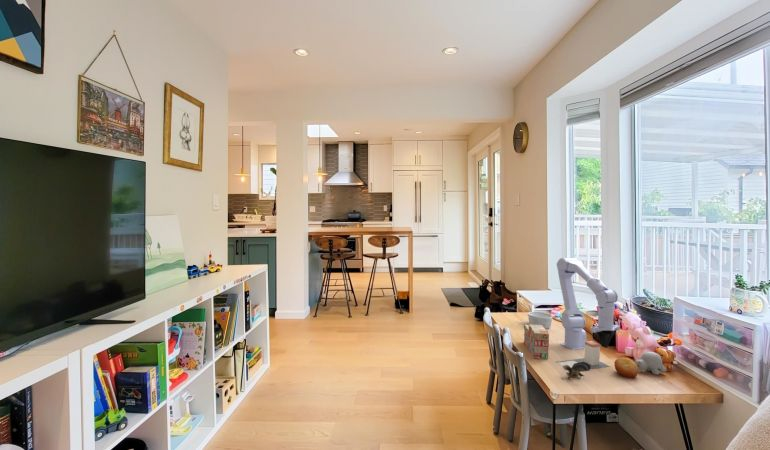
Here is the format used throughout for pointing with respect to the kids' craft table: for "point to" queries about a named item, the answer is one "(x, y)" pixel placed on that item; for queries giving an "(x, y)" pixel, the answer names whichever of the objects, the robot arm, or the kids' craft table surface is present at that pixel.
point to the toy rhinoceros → (650, 363)
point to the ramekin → (540, 319)
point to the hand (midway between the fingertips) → (604, 346)
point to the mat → (571, 362)
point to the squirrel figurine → (577, 369)
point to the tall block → (592, 352)
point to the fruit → (626, 367)
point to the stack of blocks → (536, 340)
